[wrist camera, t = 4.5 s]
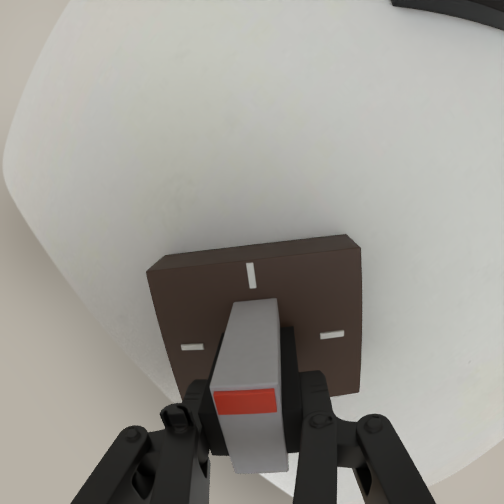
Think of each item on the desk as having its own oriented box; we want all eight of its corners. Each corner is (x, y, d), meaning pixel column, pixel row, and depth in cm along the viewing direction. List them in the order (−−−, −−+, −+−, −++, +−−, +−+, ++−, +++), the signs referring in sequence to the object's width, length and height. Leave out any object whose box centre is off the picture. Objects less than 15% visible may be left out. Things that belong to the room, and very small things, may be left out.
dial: (285, 377, 19) (288, 476, 11) (247, 380, 19) (234, 478, 11) (276, 297, 17) (278, 387, 10) (233, 301, 17) (207, 391, 10)
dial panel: (194, 377, 23) (183, 407, 20) (164, 255, 21) (144, 272, 17) (349, 364, 22) (359, 394, 19) (346, 233, 20) (361, 247, 16)
